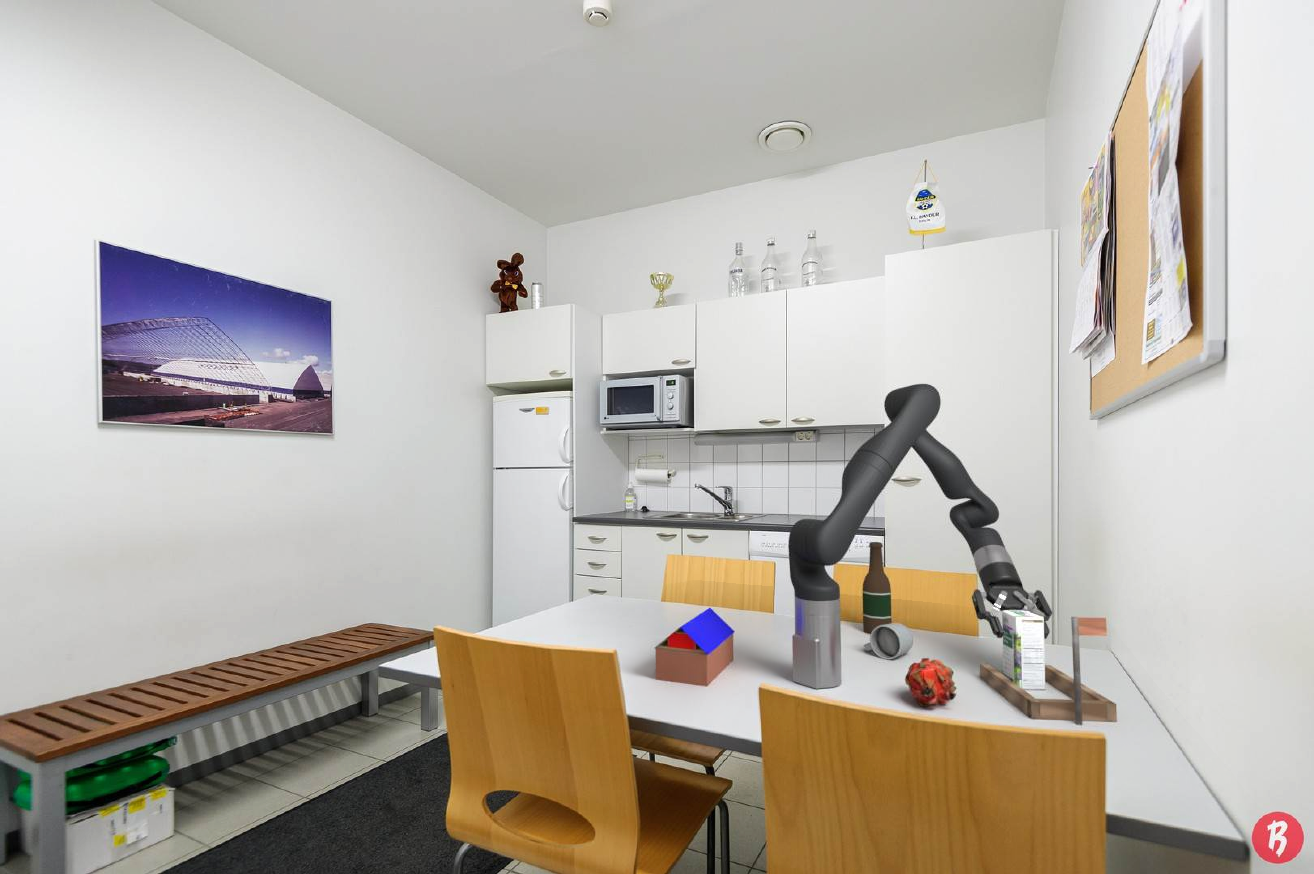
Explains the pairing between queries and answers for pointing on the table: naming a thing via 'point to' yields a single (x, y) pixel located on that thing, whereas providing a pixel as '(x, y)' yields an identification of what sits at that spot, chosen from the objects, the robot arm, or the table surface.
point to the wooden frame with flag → (1060, 685)
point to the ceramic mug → (890, 640)
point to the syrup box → (1024, 649)
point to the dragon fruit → (931, 682)
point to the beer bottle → (876, 592)
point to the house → (696, 651)
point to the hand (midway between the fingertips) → (1023, 636)
